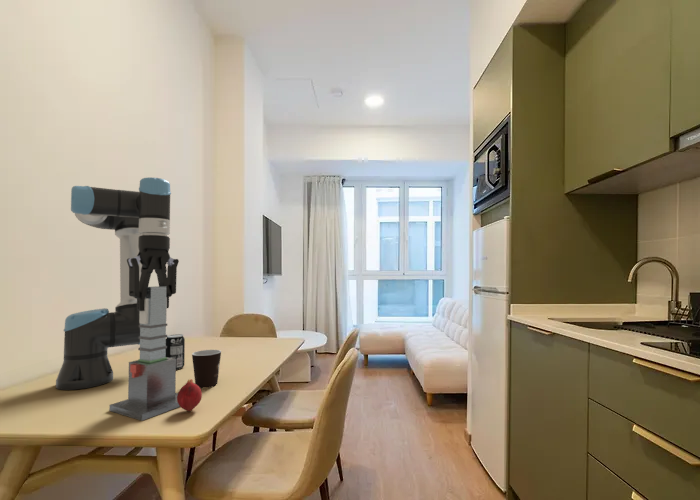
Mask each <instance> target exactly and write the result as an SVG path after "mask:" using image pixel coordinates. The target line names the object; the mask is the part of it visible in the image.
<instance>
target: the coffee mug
mask: <svg viewBox="0 0 700 500" xmlns="http://www.w3.org/2000/svg"><path fill="white" fill-rule="evenodd" d="M221 357H222V350H221V349H204V350H197V351H194V352H191V358H192V368H193V374H194V383H195V384H196V385H198V386H199V387H200V389H204V388H203V387H208V388H212V387H211V386H213V387H215V386H217V385H218V383H219V381H218V380H219V373H220V365H221ZM216 384H217V385H216ZM214 385H215V386H214Z"/></svg>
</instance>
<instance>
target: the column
mask: <svg viewBox="0 0 700 500" xmlns="http://www.w3.org/2000/svg"><path fill="white" fill-rule="evenodd" d="M145 298H147V299H149V314H148V324H141V323H140V325H139V327H140V336H139V339H140V345H139V347H138V351H139V358H138V359H137V360H138V362H141V363H146V364H151V363H155V362H159V361H164V360H167V357H166V348H167V346H166V338H167V336H168V334H167V326H168V323H167V320H166V286H159V285H157V286H148V289H147V294H146V297H145Z"/></svg>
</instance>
